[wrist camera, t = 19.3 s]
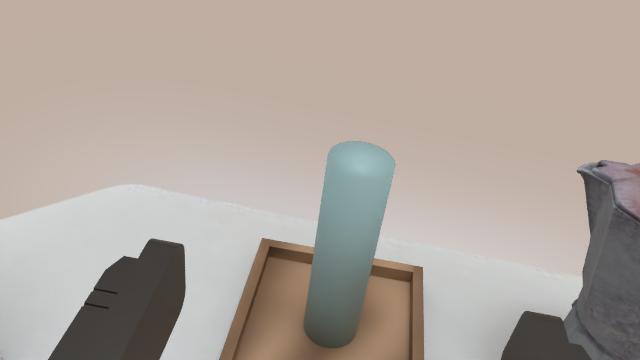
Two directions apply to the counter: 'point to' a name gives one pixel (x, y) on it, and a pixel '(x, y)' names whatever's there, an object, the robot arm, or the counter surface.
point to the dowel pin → (346, 240)
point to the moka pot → (610, 265)
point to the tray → (290, 303)
